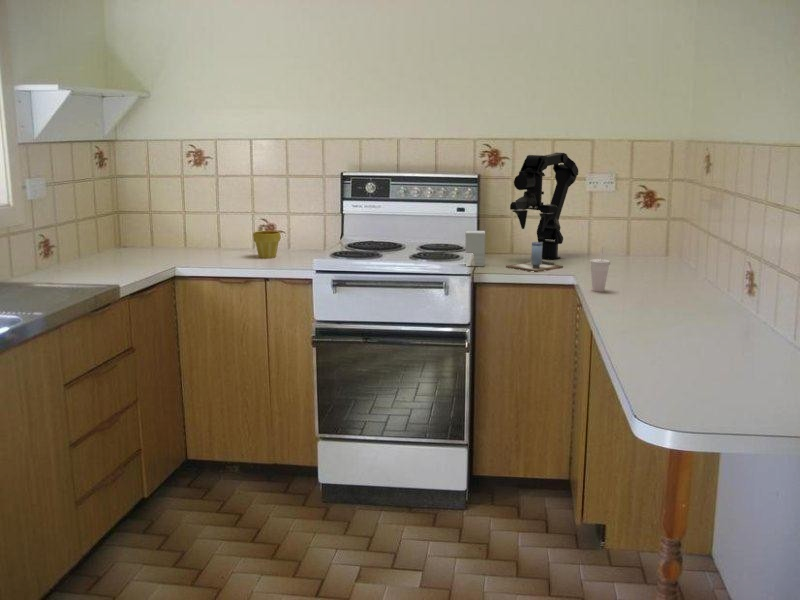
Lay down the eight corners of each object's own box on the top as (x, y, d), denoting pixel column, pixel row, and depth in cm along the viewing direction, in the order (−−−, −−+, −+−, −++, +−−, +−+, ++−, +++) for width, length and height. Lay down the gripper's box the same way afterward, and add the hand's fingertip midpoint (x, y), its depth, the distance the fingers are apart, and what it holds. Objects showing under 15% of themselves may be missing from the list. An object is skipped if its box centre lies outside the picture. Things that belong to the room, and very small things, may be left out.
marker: (535, 266, 305) (536, 241, 304) (543, 268, 303) (544, 242, 301) (528, 268, 303) (529, 242, 301) (536, 269, 300) (538, 243, 298)
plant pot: (259, 259, 319) (258, 234, 317) (250, 256, 328) (249, 231, 326) (284, 258, 324) (284, 233, 322) (274, 254, 333) (274, 229, 331)
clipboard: (533, 262, 319) (533, 259, 319) (562, 267, 309) (563, 264, 309) (505, 267, 308) (505, 263, 308) (535, 272, 298) (535, 268, 298)
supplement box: (484, 263, 316) (485, 230, 314) (484, 266, 309) (485, 232, 306) (465, 263, 317) (465, 230, 314) (464, 266, 310) (465, 232, 307)
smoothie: (597, 293, 262) (599, 249, 259) (583, 289, 268) (586, 246, 265) (612, 291, 265) (615, 247, 262) (599, 288, 271) (601, 245, 268)
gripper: (501, 188, 315) (499, 229, 318) (540, 191, 302) (538, 234, 305) (520, 187, 323) (518, 227, 326) (559, 190, 309) (557, 231, 312)
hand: (532, 230), depth 317 cm, fingers open, 9 cm apart
